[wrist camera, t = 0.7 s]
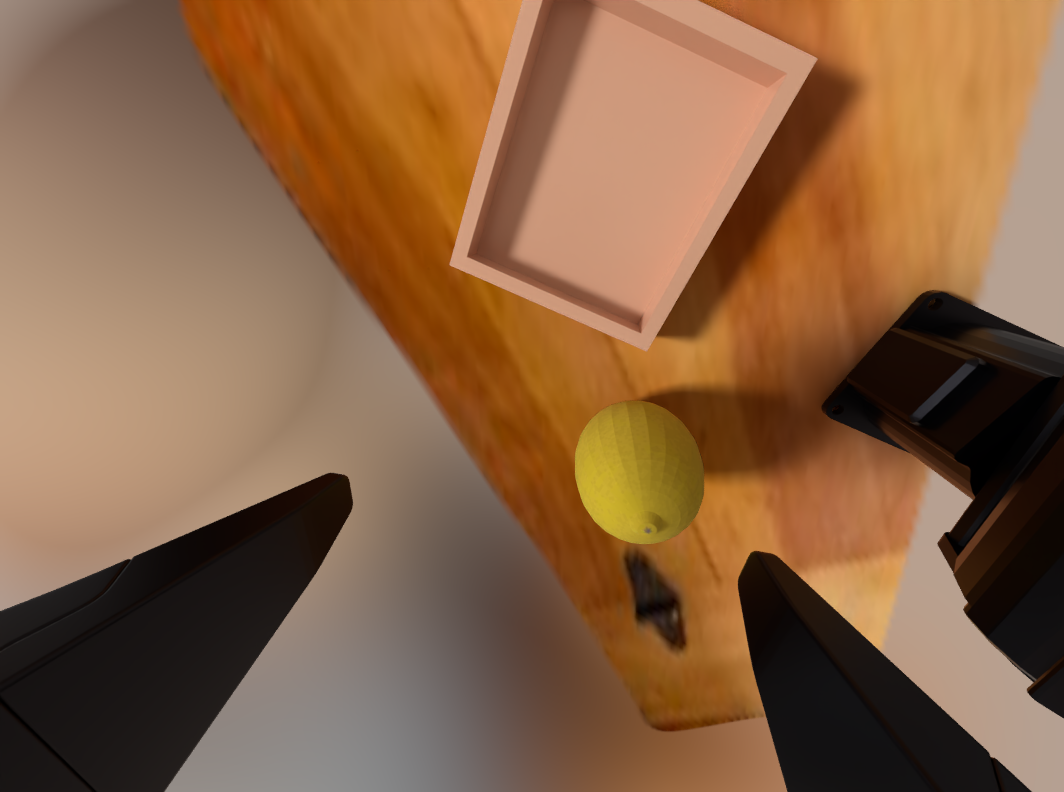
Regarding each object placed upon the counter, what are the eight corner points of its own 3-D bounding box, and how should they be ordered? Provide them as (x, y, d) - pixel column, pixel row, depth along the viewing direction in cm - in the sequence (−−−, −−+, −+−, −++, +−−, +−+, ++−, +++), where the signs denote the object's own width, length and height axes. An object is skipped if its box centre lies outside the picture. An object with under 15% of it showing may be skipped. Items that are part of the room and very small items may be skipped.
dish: (781, 84, 14) (817, 58, 12) (640, 334, 18) (646, 351, 16) (551, -27, 13) (543, -75, 11) (467, 259, 18) (449, 265, 16)
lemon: (695, 445, 21) (749, 566, 14) (601, 475, 22) (605, 596, 15) (660, 359, 19) (701, 446, 12) (561, 399, 21) (544, 496, 13)
